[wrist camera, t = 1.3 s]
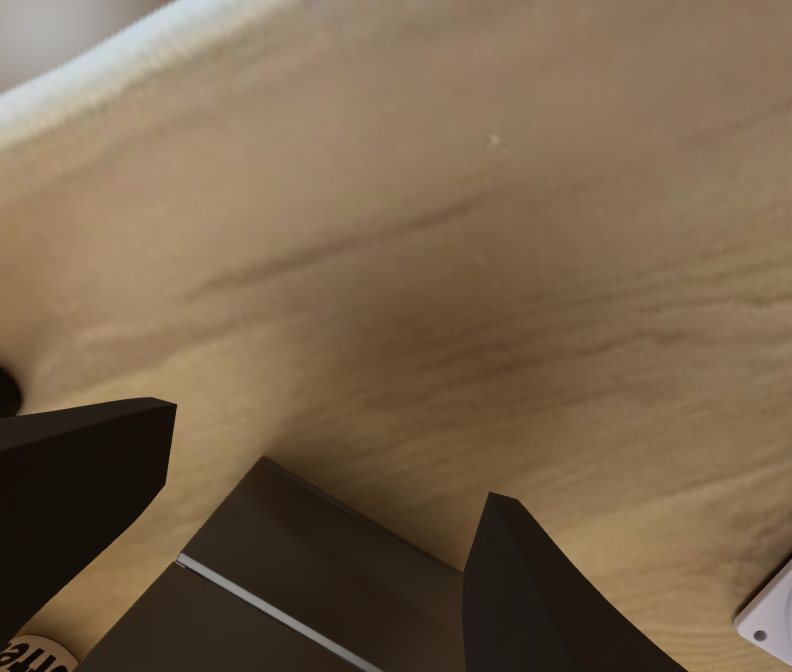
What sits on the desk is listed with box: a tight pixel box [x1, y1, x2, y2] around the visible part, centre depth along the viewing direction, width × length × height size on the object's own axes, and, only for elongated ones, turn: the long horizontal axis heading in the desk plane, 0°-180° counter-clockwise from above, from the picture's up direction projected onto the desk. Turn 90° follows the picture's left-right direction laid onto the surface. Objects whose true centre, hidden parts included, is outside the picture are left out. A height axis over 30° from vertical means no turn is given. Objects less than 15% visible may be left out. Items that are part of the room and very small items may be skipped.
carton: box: [175, 456, 466, 672], centre depth 20 cm, size 11×11×7 cm
